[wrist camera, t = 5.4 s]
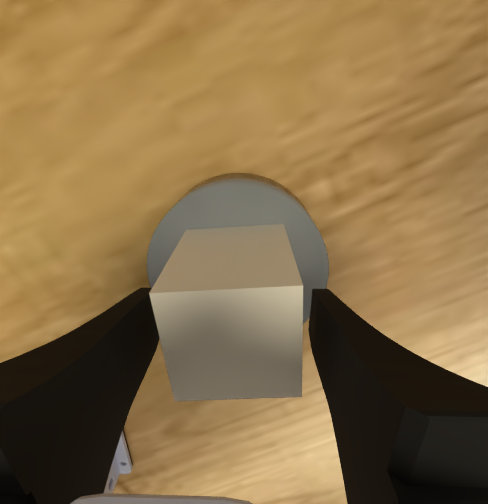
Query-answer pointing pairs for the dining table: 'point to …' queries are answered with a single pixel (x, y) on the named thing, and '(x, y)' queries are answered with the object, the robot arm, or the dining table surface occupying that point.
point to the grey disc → (244, 223)
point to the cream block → (231, 314)
